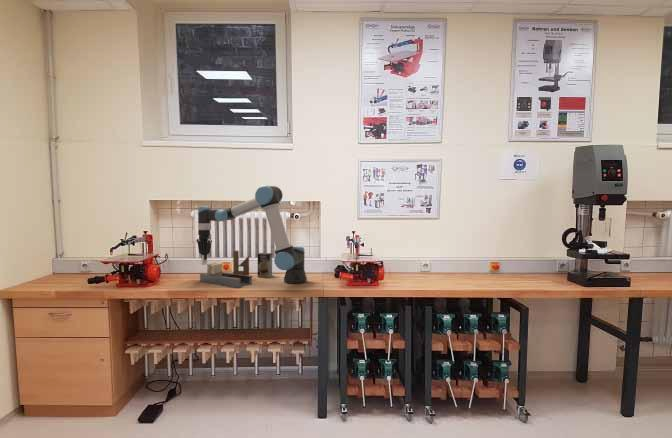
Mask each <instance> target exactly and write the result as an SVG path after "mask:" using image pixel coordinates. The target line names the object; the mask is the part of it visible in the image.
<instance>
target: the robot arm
mask: <svg viewBox="0 0 672 438" xmlns="http://www.w3.org/2000/svg"><path fill="white" fill-rule="evenodd" d="M282 199H283V191H282V190H281V188H279V186H275V185H261V186H259V187H258V188H257V189H256V191H255V194H254V197H253V198H251V199H249V200H247V201H243V202H242V203H239V204H236V205H234V206H232V207H229V208H226V209H225V208H224V209H211V207H210V205H209V206H208V205H207V206H205V205H204V206H203V205H201V206H199V207H198V210H197V211H198V212H197V214H198V215H197V216H198V219H197V220H198V222H197V223H198V224H197V229H198V230H197V231H198V232H197V233H198V234H197V235H198V238H197V239H196V243H197V248H198V254H200V255H201V258H200V259H201V265H203V266H204V265H207V264H208V263H207V261H208V255H209V254H210V252H211V246H212V242H213V240H211V239H210V235H211V222H225V221H232V220H235V219H236V218H237V217H241V216H242V215H243V216H244V215H245V214H249V213H251V212H253V211H257V210H258V209H261V210H262V211H264V212H265V216H266V219H267V222H268V225H269V230H270V232H271V236H272V238H273V239H272V240H273V242H274V245H275V249H274V254H275V256H274V260H273V261H274V265H275V266H276V268H277V269H279V270H281V271H285V274H284V277H283V282H284V283H286V284H290V285H291V284H294V285H297V284H298V285H299V284H304V283H307V282H308V277H307V273H306V271H305V254H306V252H305V248H304V246H303V247H302V246H293V244H291V243H290V242H289V241H290V240H289V238H288V236H287V232H286V228H285V225H284V222H283V218H282V215H281V212H280V208H279V207H280V202H281V201H282Z"/></svg>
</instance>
